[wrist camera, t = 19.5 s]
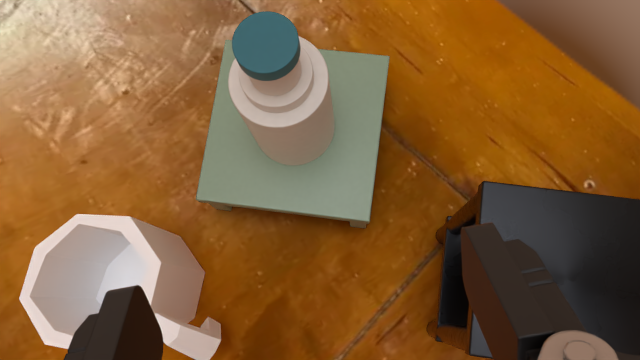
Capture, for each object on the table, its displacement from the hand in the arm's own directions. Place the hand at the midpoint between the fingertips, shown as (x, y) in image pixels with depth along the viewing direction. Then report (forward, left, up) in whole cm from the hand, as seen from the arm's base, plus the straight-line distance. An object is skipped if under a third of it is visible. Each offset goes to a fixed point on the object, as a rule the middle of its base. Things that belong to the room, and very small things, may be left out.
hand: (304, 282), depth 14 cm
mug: (+12, +2, -28) cm, 31 cm away
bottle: (+4, -11, -23) cm, 26 cm away
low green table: (+4, -11, -28) cm, 31 cm away
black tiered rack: (-11, -2, -28) cm, 30 cm away
